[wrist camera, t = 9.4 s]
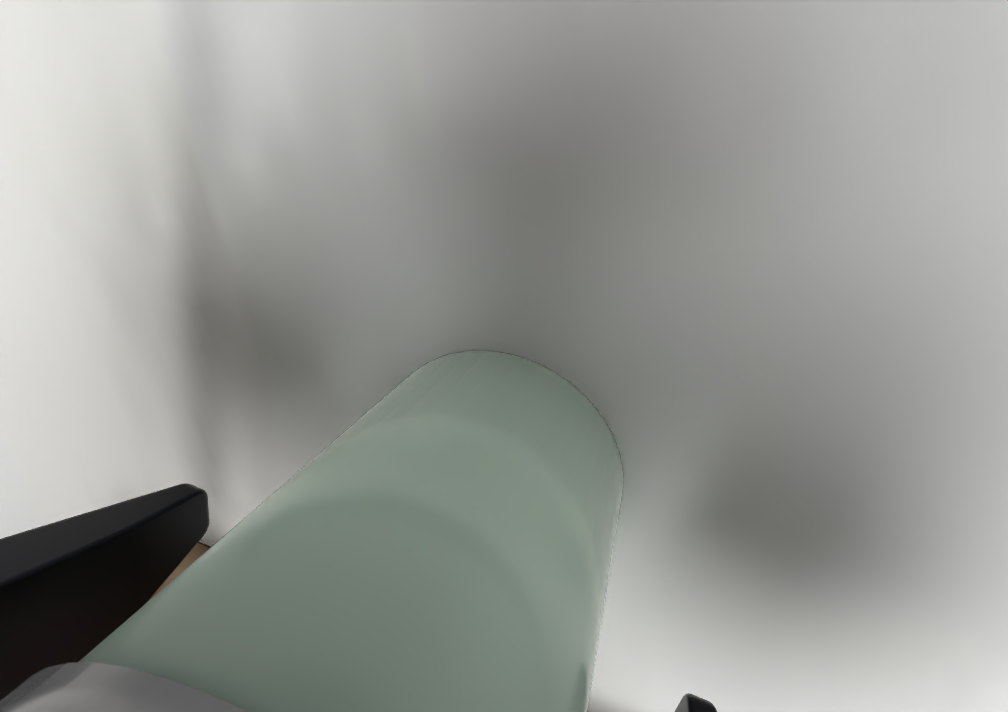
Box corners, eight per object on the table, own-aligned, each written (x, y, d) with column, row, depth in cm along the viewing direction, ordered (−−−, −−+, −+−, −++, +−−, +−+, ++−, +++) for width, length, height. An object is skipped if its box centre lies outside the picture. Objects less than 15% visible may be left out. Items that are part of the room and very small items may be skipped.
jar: (366, 519, 14) (-16, 982, 6) (388, 307, 12) (-227, 655, 4) (589, 610, 13) (453, 1318, 5) (672, 395, 10) (650, 1193, 3)
